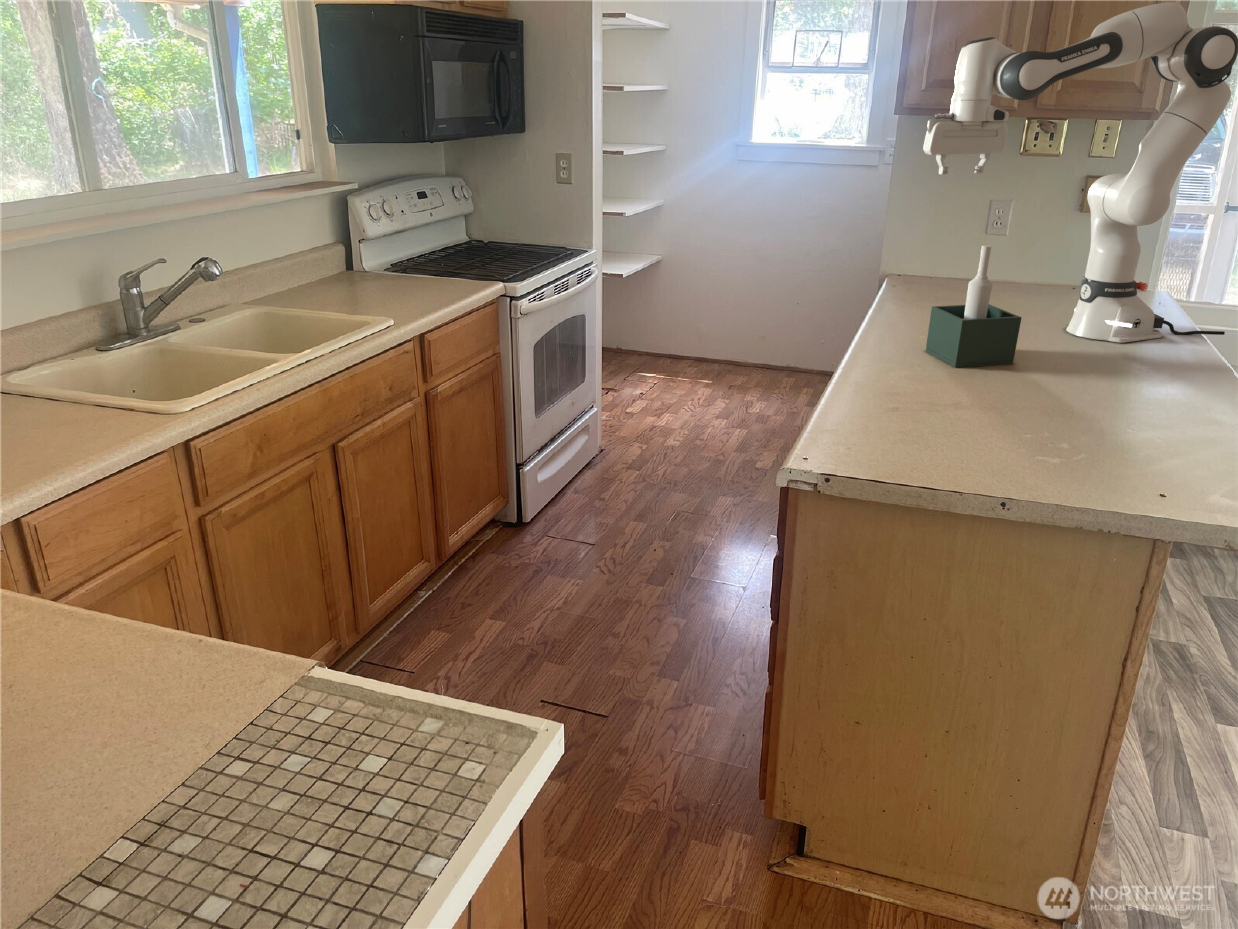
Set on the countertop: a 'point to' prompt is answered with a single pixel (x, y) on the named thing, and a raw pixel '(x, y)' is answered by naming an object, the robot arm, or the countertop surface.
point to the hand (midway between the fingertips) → (960, 173)
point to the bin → (972, 336)
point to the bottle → (979, 289)
